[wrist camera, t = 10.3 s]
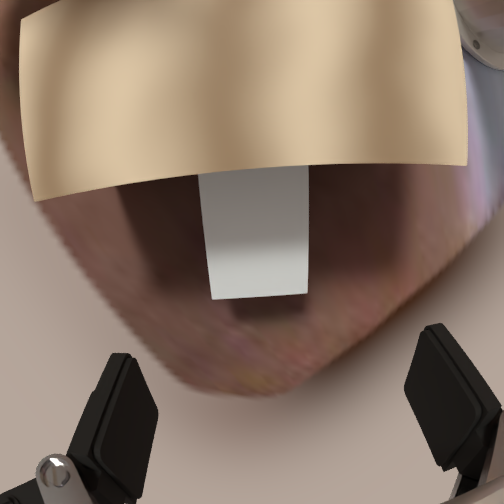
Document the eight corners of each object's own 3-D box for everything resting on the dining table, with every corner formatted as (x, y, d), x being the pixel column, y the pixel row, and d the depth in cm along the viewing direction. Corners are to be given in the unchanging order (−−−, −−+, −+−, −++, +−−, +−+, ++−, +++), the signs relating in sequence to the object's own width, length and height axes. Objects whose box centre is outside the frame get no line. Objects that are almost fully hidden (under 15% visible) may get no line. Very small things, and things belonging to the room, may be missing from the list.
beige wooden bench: (375, 27, 17) (449, -13, 8) (384, 144, 21) (466, 166, 12) (98, 49, 17) (21, 19, 8) (109, 167, 21) (34, 202, 12)
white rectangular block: (288, 46, 18) (301, 25, 13) (295, 260, 24) (307, 293, 20) (200, 50, 18) (188, 31, 13) (217, 265, 24) (212, 299, 20)
